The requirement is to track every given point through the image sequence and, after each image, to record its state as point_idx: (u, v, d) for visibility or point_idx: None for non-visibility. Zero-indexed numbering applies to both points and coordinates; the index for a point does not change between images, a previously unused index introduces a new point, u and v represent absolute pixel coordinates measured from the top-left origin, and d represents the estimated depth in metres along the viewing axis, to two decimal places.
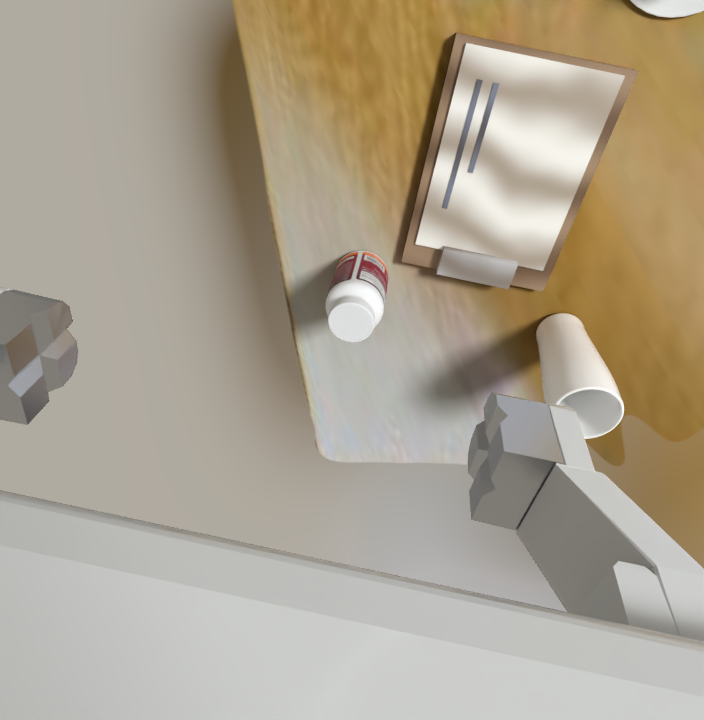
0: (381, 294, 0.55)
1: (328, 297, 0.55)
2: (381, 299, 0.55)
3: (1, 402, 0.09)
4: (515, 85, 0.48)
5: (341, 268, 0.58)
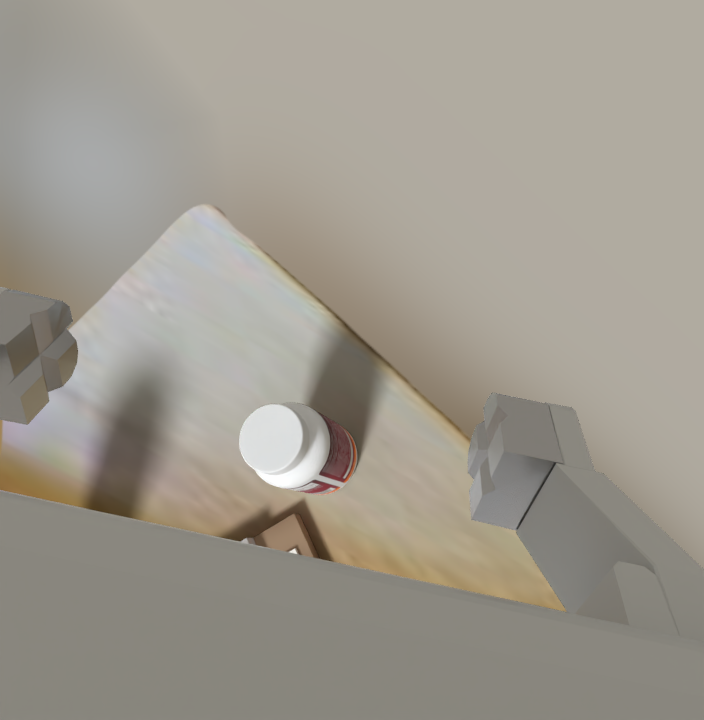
0: None
1: (324, 433, 0.38)
2: (267, 482, 0.38)
3: (1, 402, 0.09)
4: None
5: (344, 460, 0.41)
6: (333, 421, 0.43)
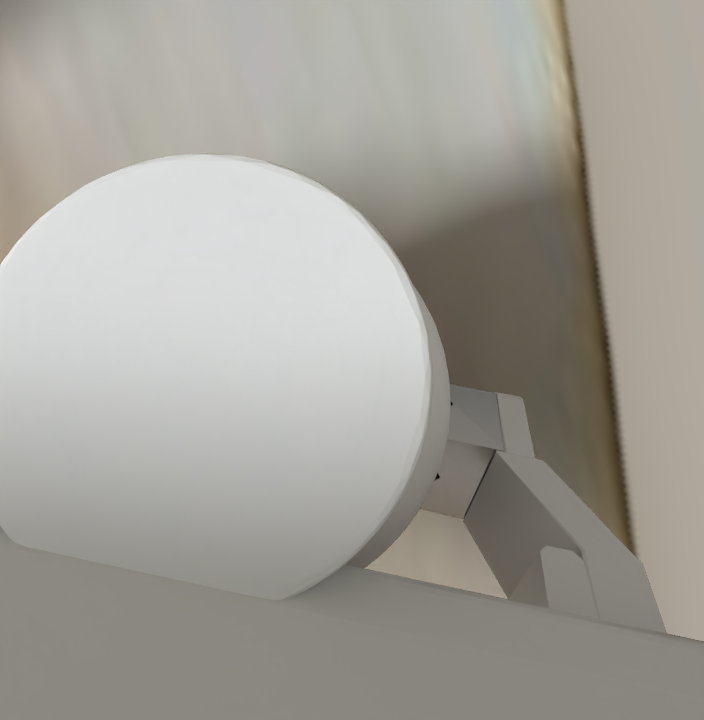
0: None
1: (424, 491, 0.08)
2: None
3: None
4: None
5: None
6: None
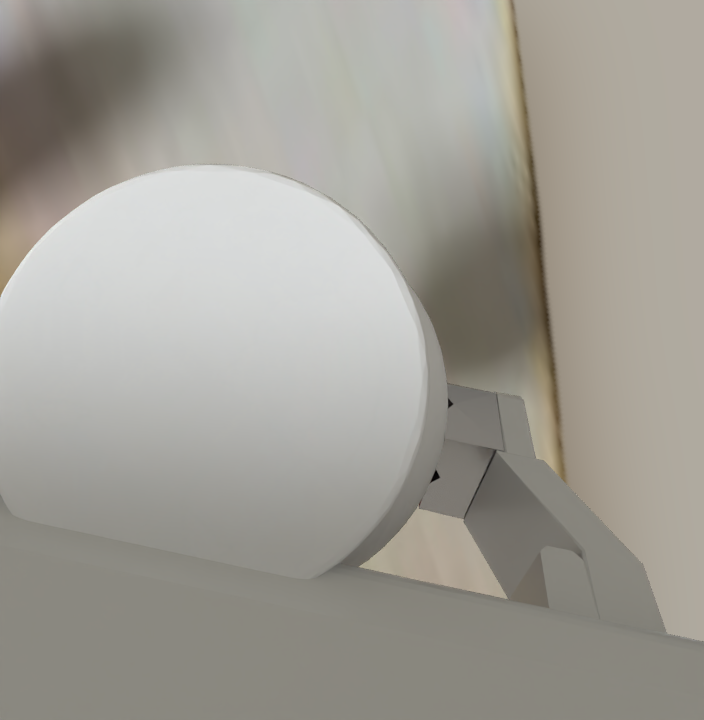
0: None
1: (423, 487, 0.08)
2: None
3: None
4: None
5: None
6: None
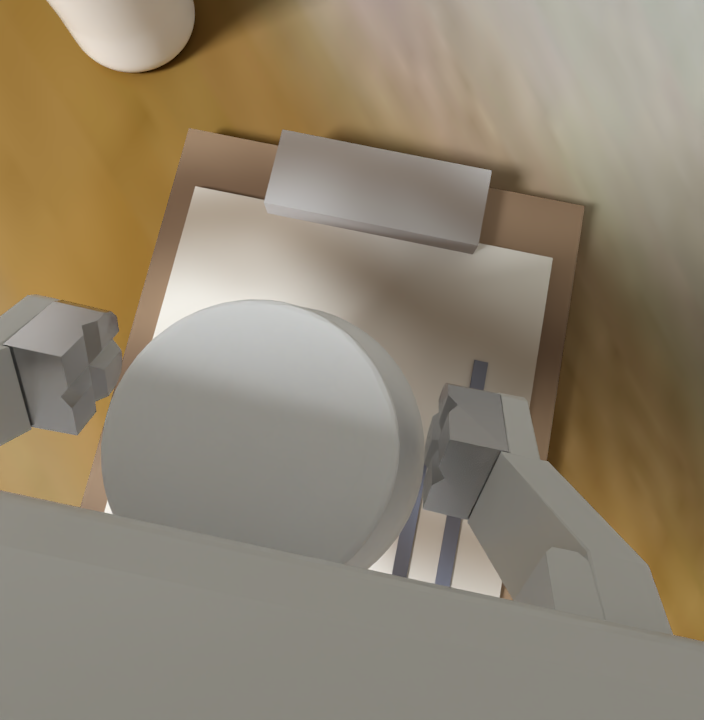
0: None
1: (406, 514, 0.11)
2: None
3: (52, 413, 0.09)
4: None
5: None
6: None
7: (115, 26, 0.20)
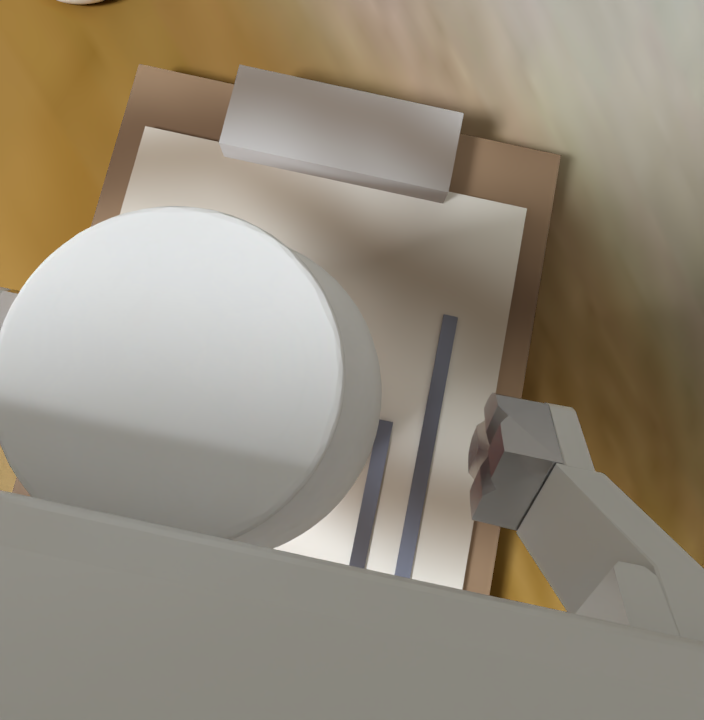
0: None
1: (359, 463, 0.10)
2: None
3: None
4: None
5: None
6: None
7: None
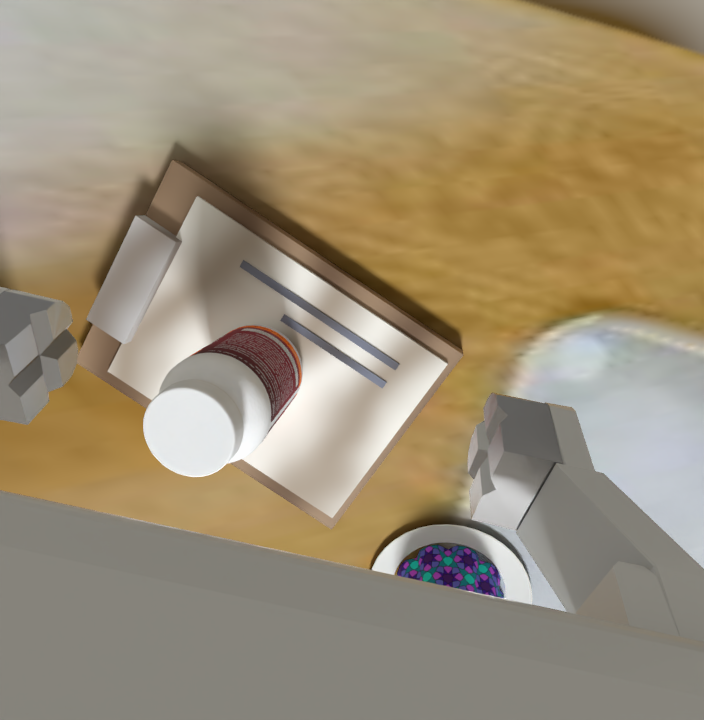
0: None
1: (247, 378, 0.27)
2: None
3: (1, 402, 0.09)
4: (371, 405, 0.36)
5: (286, 374, 0.32)
6: (246, 333, 0.32)
7: None
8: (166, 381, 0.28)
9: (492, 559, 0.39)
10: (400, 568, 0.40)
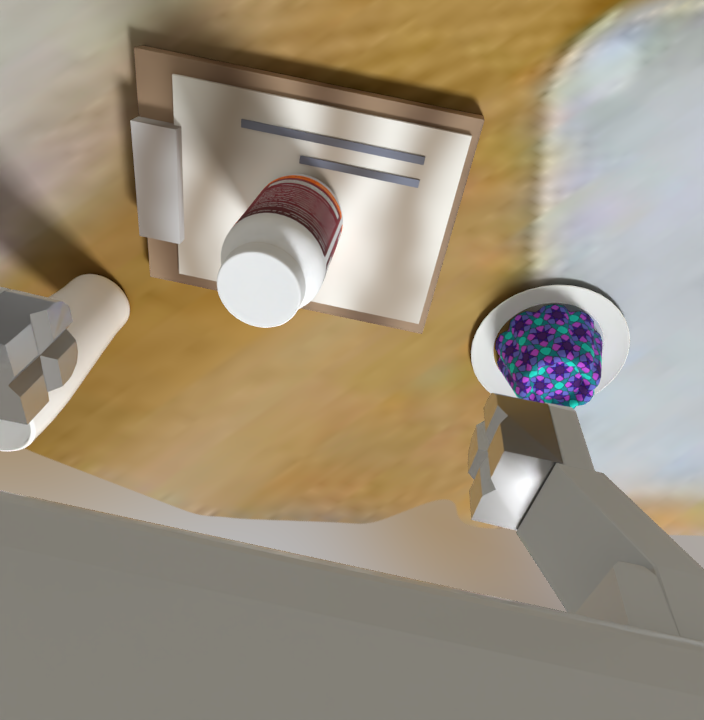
0: None
1: (287, 226, 0.29)
2: None
3: (1, 402, 0.09)
4: (414, 208, 0.36)
5: (323, 210, 0.33)
6: (272, 188, 0.33)
7: (112, 313, 0.43)
8: (223, 257, 0.30)
9: (581, 306, 0.40)
10: (496, 343, 0.43)
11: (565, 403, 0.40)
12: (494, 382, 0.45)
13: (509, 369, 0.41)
